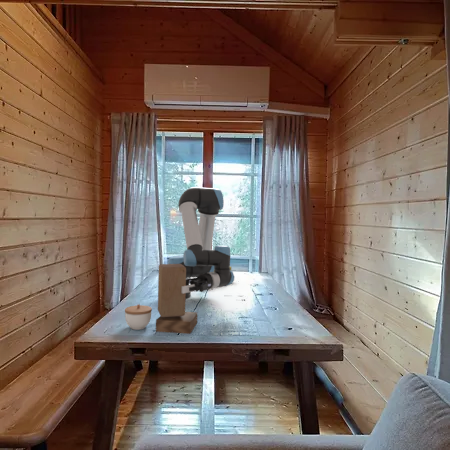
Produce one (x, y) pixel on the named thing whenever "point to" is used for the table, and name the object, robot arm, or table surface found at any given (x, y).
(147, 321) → the lidded jar
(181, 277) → the wooden block
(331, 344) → the table surface
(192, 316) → the base brick
